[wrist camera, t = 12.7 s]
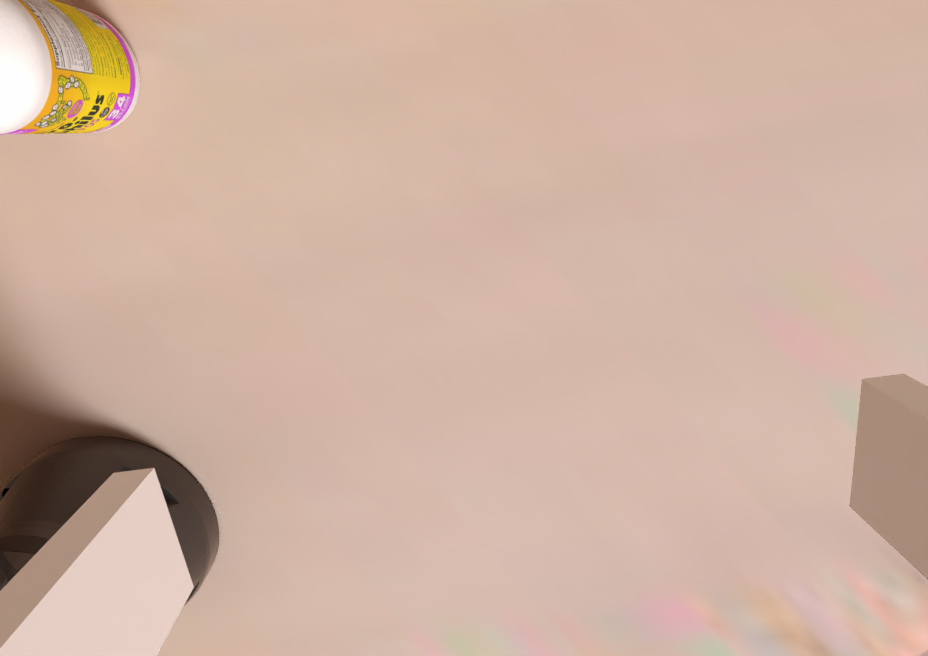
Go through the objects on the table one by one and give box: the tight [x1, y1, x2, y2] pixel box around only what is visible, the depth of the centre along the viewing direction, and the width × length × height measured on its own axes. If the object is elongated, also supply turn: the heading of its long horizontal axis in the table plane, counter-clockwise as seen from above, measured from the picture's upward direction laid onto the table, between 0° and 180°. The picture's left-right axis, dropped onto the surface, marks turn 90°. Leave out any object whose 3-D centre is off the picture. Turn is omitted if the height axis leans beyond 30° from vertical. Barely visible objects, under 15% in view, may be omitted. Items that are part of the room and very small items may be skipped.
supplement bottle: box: [0, 0, 140, 134], centre depth 29 cm, size 7×7×13 cm
